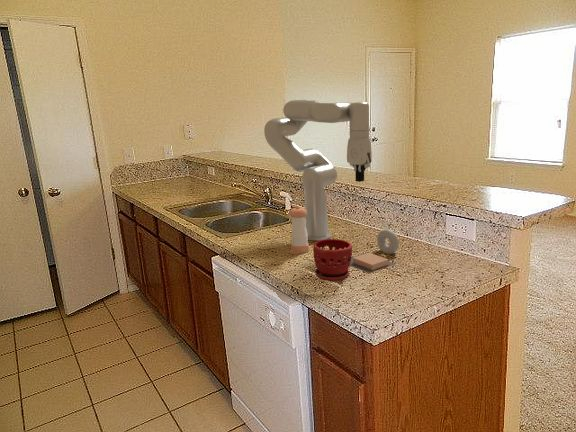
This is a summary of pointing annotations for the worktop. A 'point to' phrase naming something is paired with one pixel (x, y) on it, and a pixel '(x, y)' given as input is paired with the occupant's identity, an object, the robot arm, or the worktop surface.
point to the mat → (366, 268)
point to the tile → (370, 261)
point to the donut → (392, 238)
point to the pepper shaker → (299, 231)
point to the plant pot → (332, 259)
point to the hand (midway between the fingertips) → (359, 181)
